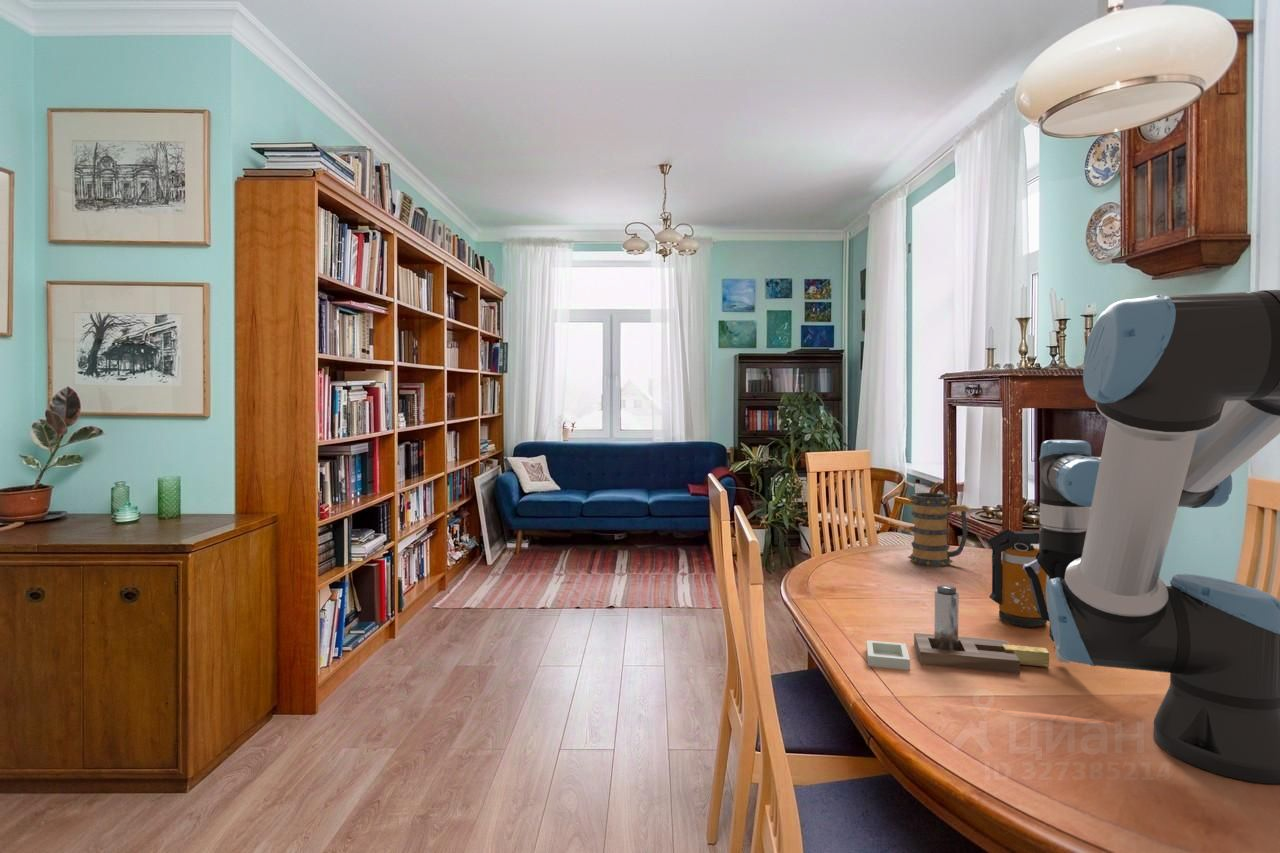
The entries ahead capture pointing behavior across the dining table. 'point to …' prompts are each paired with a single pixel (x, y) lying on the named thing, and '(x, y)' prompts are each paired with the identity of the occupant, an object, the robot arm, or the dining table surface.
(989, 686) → the dining table surface
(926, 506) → the mug
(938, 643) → the metal round-nosed cylinder
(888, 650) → the pale grey square tray
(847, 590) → the dining table surface
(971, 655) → the socket block
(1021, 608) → the canister
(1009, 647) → the bar
